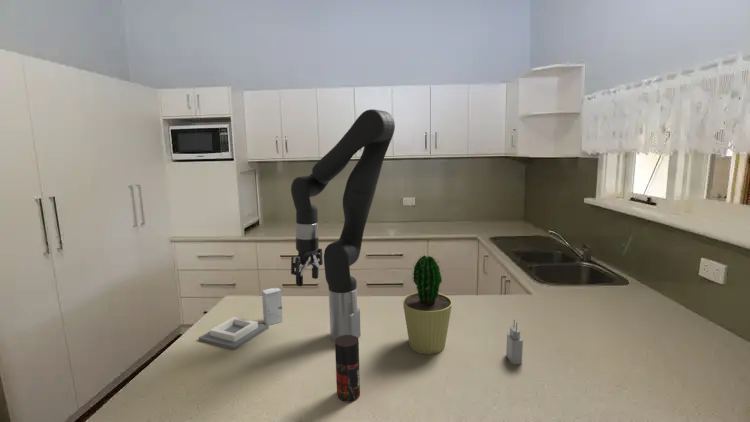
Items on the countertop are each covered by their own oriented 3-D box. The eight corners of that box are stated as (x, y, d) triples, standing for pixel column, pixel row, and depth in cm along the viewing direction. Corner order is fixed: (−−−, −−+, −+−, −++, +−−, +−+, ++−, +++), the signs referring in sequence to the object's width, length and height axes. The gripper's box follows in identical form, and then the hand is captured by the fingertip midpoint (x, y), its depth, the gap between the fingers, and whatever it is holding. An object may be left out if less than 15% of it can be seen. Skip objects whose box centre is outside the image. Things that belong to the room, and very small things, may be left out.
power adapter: (515, 353, 117) (517, 316, 115) (522, 363, 111) (524, 325, 109) (505, 354, 116) (506, 317, 114) (512, 364, 111) (513, 325, 109)
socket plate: (268, 328, 136) (268, 320, 136) (234, 350, 122) (234, 341, 122) (234, 320, 143) (234, 312, 143) (199, 340, 129) (198, 331, 128)
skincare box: (267, 326, 138) (264, 294, 136) (263, 321, 142) (260, 290, 140) (283, 321, 142) (281, 290, 139) (279, 317, 145) (277, 286, 143)
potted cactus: (461, 343, 123) (462, 252, 118) (433, 363, 112) (434, 264, 107) (422, 328, 134) (422, 244, 129) (393, 345, 123) (392, 255, 118)
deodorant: (337, 388, 102) (335, 335, 99) (359, 386, 102) (358, 334, 100) (336, 402, 96) (334, 347, 93) (360, 401, 96) (359, 345, 94)
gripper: (302, 241, 121) (303, 290, 124) (328, 233, 133) (328, 277, 136) (284, 238, 124) (285, 286, 127) (310, 230, 137) (311, 274, 139)
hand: (307, 281), depth 132 cm, fingers open, 8 cm apart
